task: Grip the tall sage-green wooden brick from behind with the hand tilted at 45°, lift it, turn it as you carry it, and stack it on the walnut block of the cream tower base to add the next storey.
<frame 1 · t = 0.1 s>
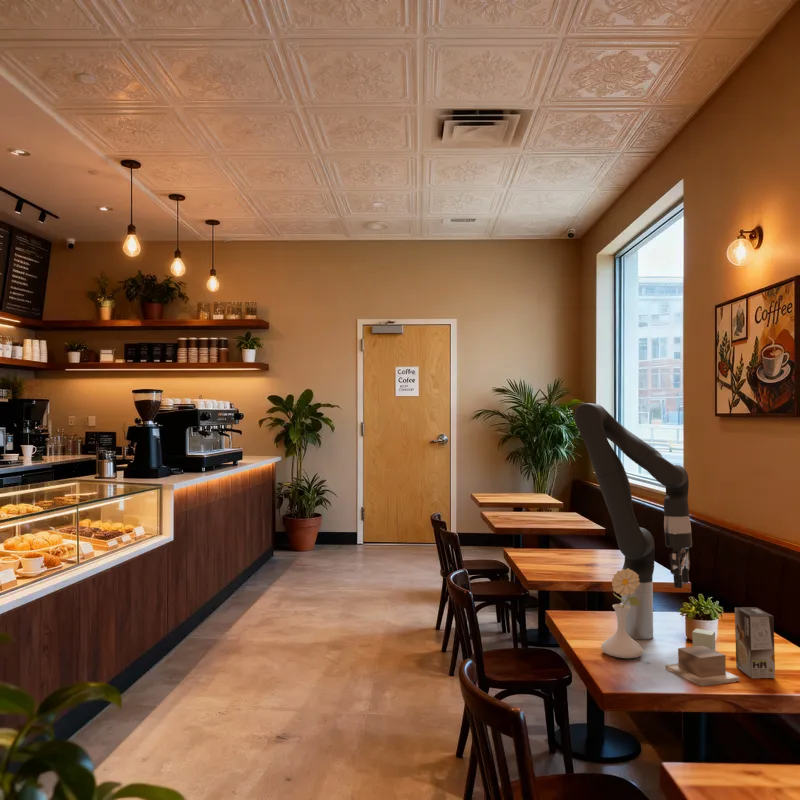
hand: (681, 585, 200), 17 cm above the table, tool pointing down, fingers open, 8 cm apart
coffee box: (755, 673, 175), on the table
sage brick: (704, 660, 184), on the table
tower base: (701, 674, 173), on the table
flower in vase: (623, 656, 187), on the table
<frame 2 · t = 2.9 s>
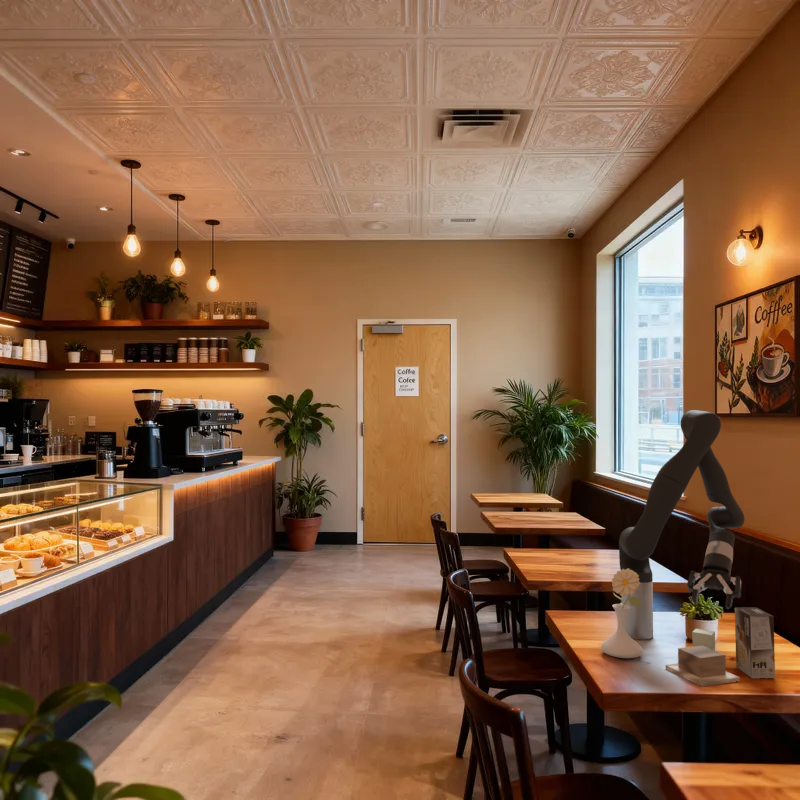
hand: (710, 605, 192), 13 cm above the table, tool tilted 45°, fingers open, 8 cm apart
nothing on the table moved.
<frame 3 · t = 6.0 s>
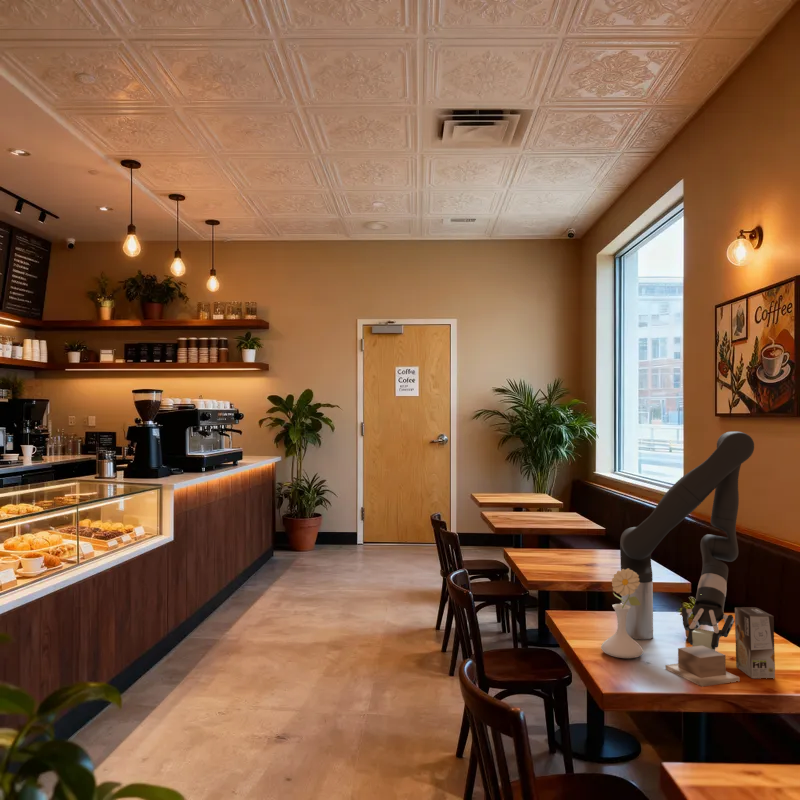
hand: (702, 645, 183), 5 cm above the table, tool tilted 45°, fingers closed on sage brick, 5 cm apart
sage brick: (704, 660, 184), on the table, touching gripper
everything else where it was.
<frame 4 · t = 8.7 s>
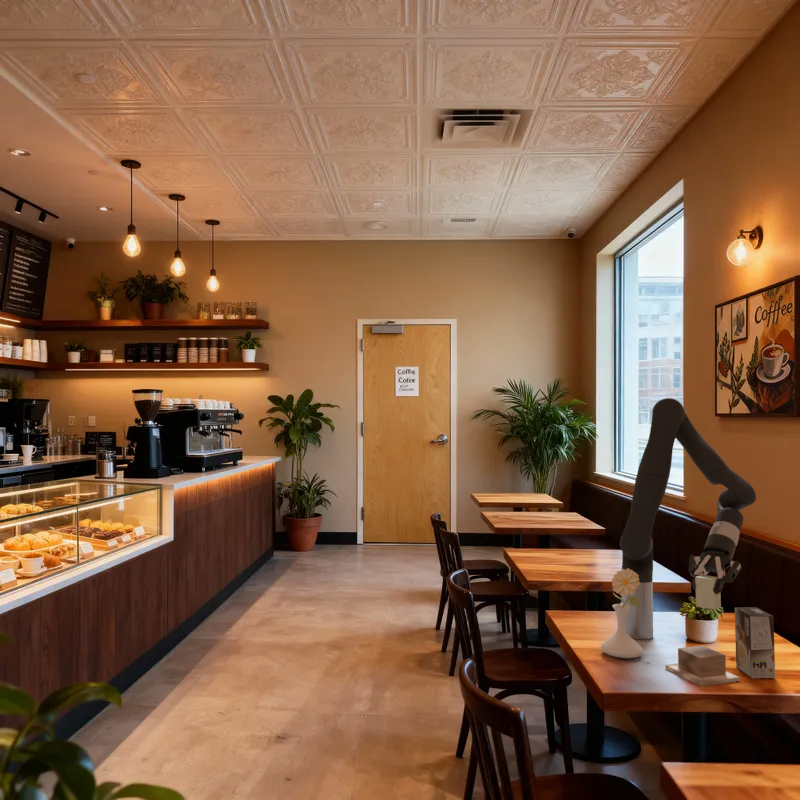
hand: (705, 590, 180), 20 cm above the table, tool tilted 45°, fingers closed on sage brick, 5 cm apart
sage brick: (708, 606, 182), point 16 cm above the table, touching gripper
everything else where it was.
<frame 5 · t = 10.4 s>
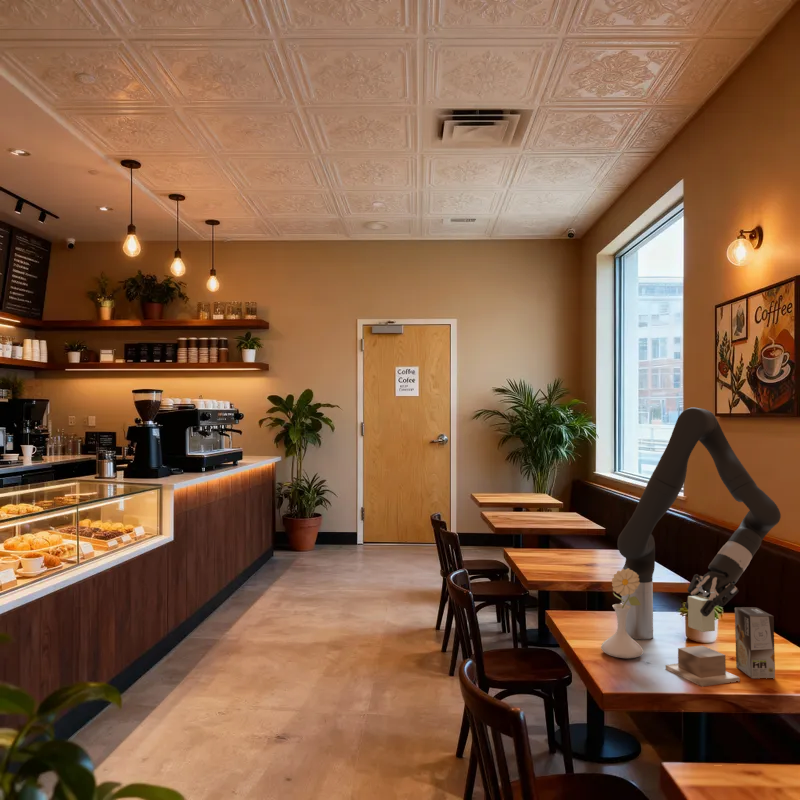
hand: (695, 611, 173), 17 cm above the table, tool tilted 45°, fingers closed on sage brick, 5 cm apart
sage brick: (701, 628, 174), point 12 cm above the table, touching gripper
everything else where it was.
when the fingers open (12 cm above the table, at t = 11.9 s): sage brick stays where it is, resting on tower base.
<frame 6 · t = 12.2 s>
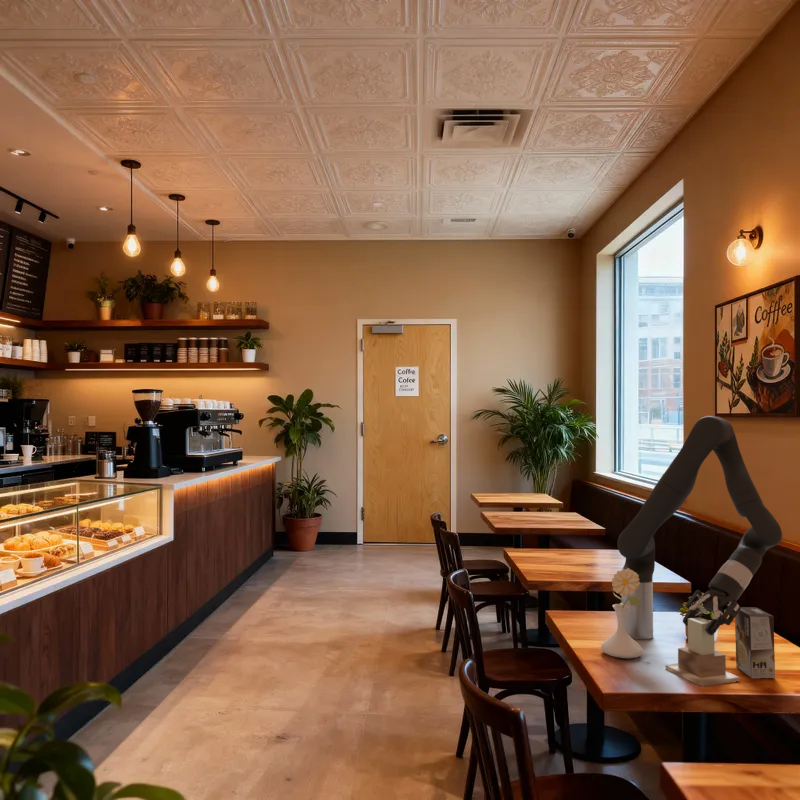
hand: (696, 628, 173), 12 cm above the table, tool tilted 45°, fingers open, 7 cm apart
sage brick: (701, 651, 174), point 6 cm above the table, touching tower base
everything else where it was.
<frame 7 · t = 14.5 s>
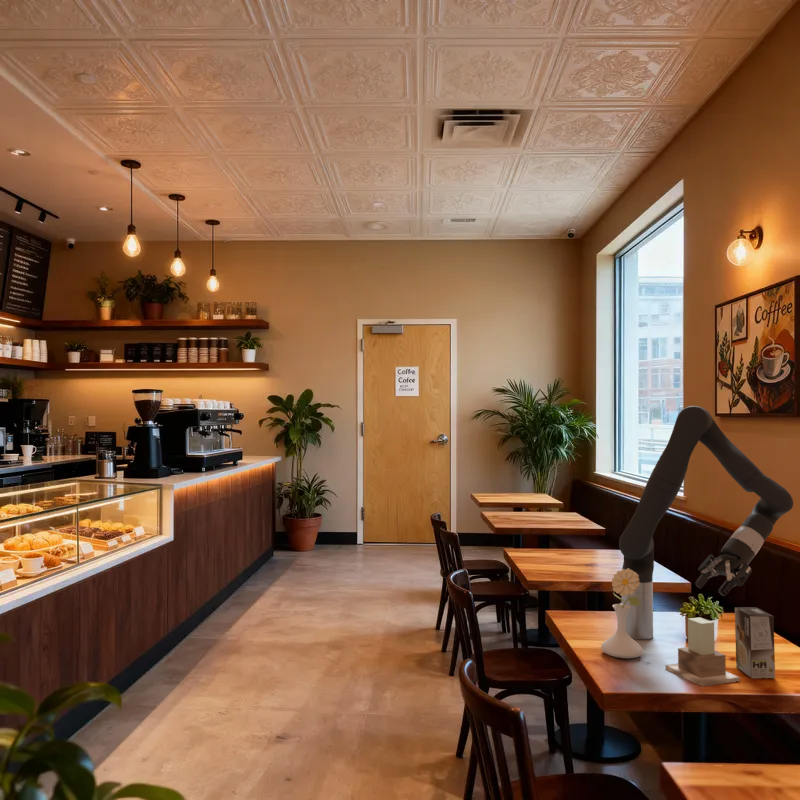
hand: (709, 590, 180), 20 cm above the table, tool tilted 45°, fingers open, 8 cm apart
nothing on the table moved.
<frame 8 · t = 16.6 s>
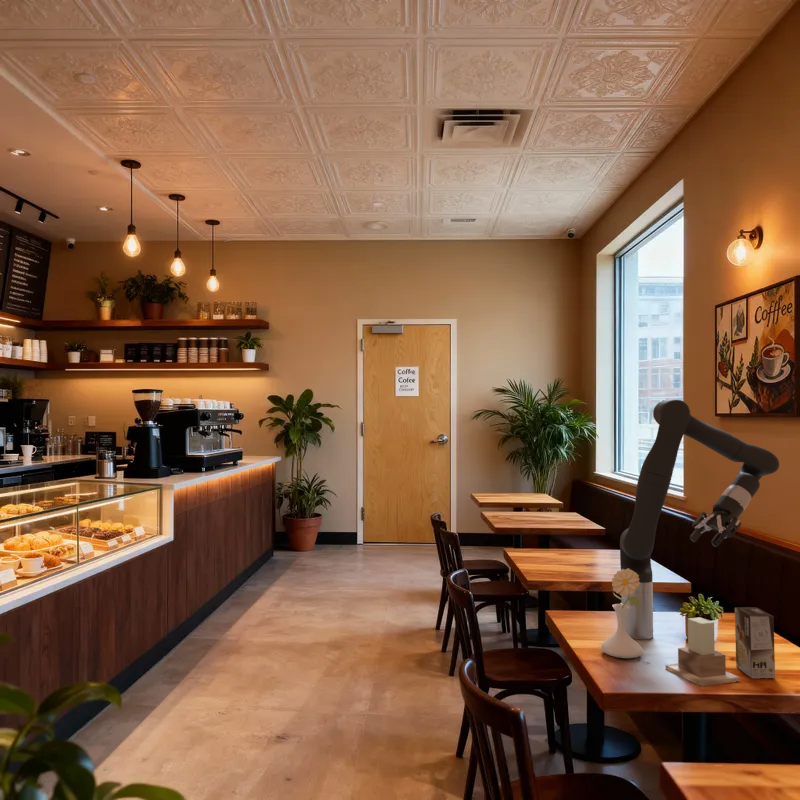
hand: (702, 542, 197), 31 cm above the table, tool tilted 45°, fingers open, 8 cm apart
nothing on the table moved.
at the end: sage brick 0.1 cm off-centre on the tower base, point 6.0 cm above the tower base's base; sage brick tilted 0°; the gripper is holding nothing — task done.
